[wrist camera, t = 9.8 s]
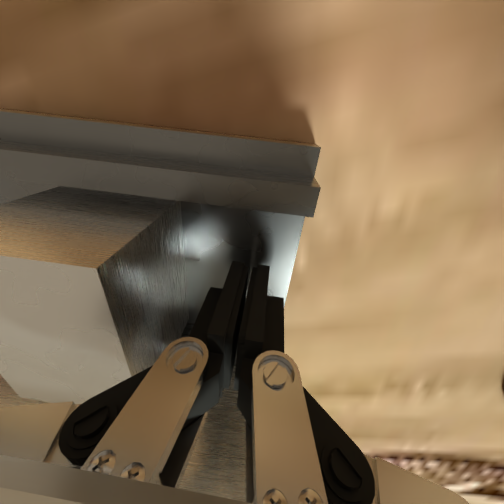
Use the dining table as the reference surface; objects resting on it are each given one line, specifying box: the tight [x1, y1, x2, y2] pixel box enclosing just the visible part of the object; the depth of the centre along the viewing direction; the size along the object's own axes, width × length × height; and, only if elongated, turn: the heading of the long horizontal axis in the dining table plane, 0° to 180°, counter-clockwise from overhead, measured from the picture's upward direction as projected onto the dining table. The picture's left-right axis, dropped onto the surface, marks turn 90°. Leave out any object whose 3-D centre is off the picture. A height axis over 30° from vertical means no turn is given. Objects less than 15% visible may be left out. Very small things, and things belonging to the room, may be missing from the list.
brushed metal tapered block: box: [0, 186, 189, 404], centre depth 9 cm, size 6×7×5 cm
